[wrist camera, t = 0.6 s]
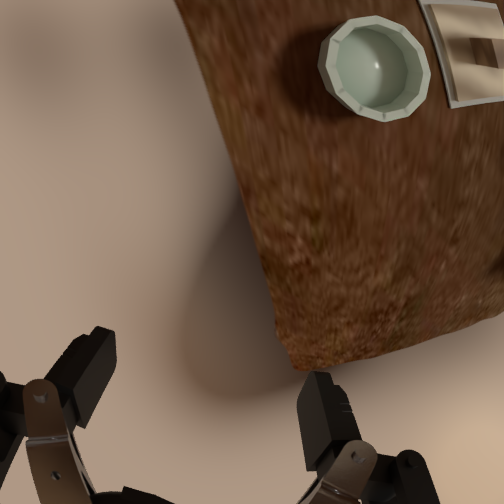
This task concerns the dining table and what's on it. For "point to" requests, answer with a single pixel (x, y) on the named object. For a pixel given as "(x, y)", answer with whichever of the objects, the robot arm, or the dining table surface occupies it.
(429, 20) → the tray
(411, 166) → the dining table surface
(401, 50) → the bowl
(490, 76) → the lid
